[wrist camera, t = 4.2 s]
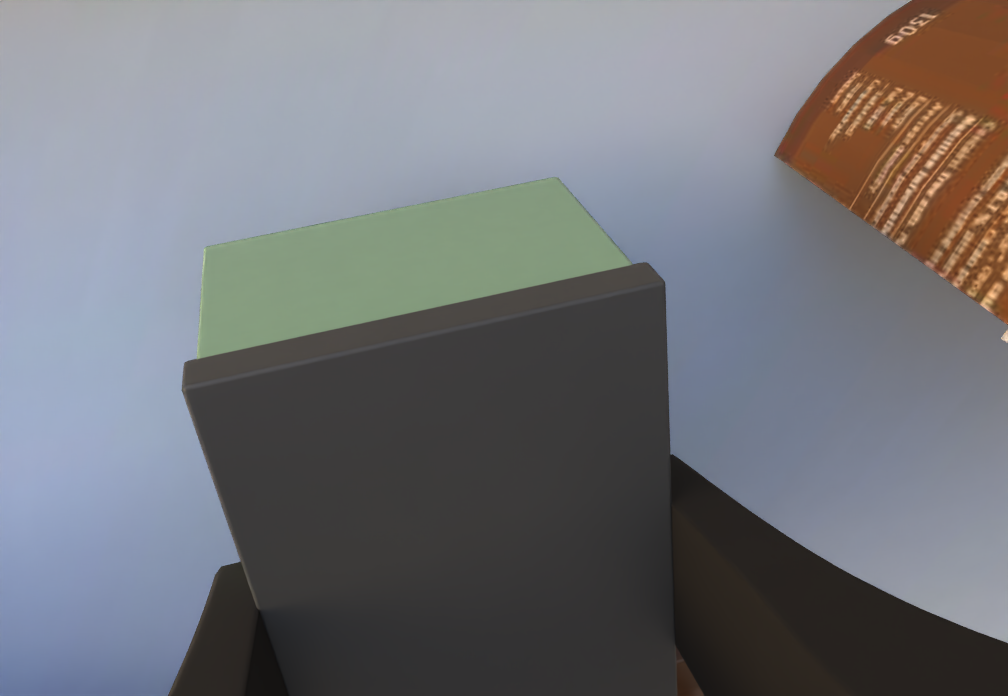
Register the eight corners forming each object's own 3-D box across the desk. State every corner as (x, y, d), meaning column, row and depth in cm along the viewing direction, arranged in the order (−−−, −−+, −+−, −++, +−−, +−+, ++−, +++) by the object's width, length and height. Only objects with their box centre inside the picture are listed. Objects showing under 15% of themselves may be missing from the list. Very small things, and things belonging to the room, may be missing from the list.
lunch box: (329, 683, 18) (351, 884, 15) (194, 240, 13) (180, 388, 10) (601, 609, 19) (681, 784, 16) (563, 167, 14) (666, 280, 11)
